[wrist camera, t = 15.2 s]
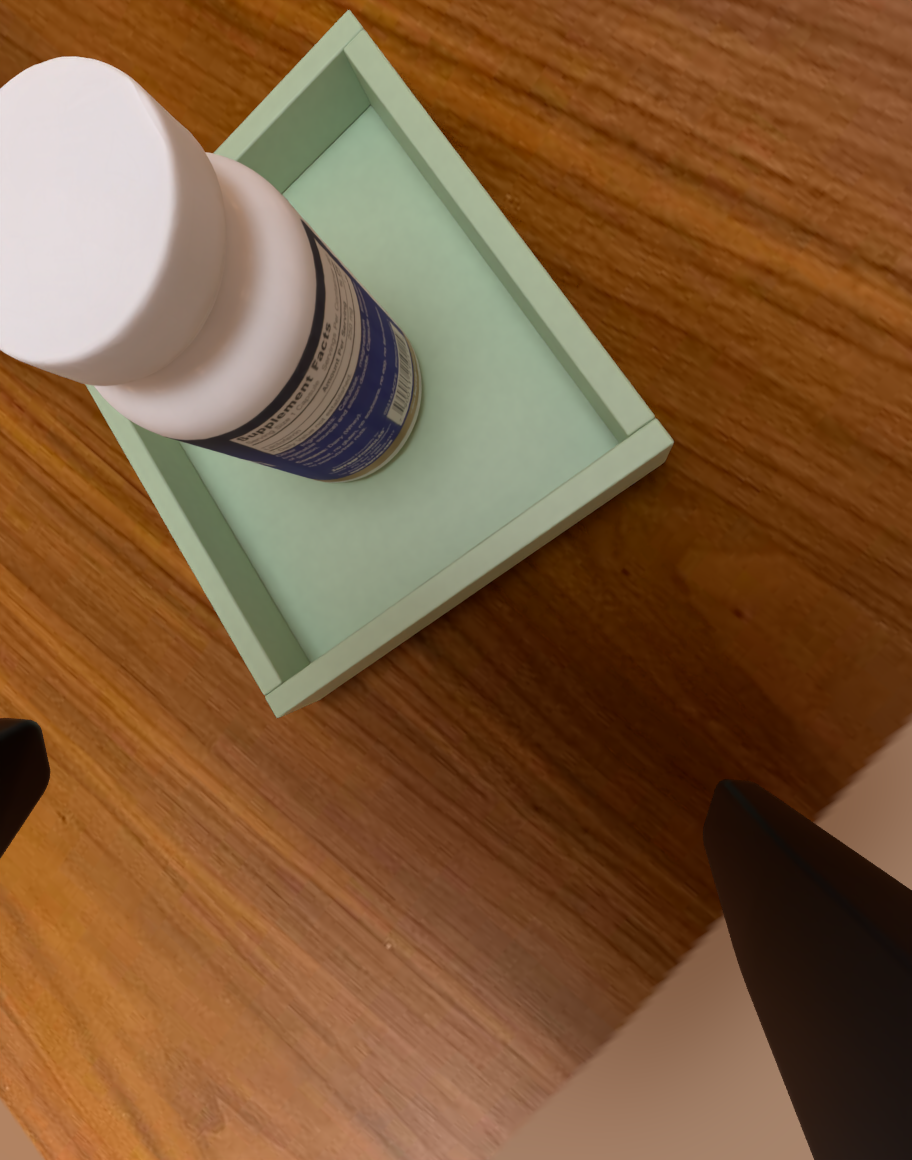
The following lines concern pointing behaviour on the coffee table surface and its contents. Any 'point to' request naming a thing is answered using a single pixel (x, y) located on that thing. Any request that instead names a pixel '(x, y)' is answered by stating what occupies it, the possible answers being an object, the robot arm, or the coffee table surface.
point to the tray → (447, 410)
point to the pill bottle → (187, 285)
